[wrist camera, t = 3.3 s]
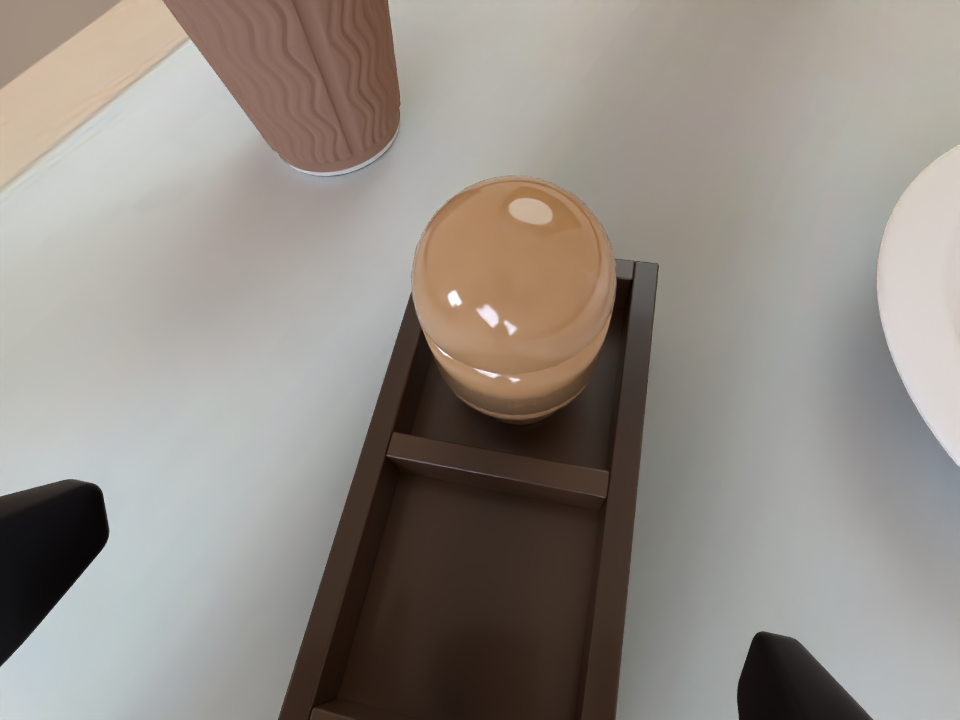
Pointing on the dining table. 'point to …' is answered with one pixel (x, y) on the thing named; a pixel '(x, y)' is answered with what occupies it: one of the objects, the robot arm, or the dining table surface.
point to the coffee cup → (305, 74)
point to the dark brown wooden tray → (484, 546)
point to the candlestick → (926, 295)
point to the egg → (515, 296)
